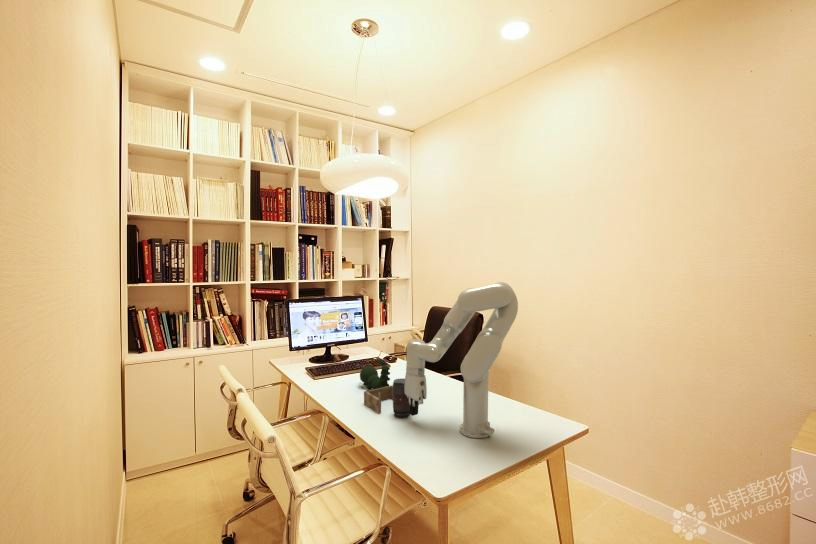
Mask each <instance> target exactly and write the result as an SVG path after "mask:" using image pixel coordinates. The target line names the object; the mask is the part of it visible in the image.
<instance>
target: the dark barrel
mask: <svg viewBox="0 0 816 544" xmlns="http://www.w3.org/2000/svg"><path fill="white" fill-rule="evenodd" d="M404 383H405V378H395V379H394V380H393V383H392V386H393V399H392V409H393V410H392V412H393V414H394V415H393V416H394V417H395V418H398V419H406V418H408V417H410V416H411V415H410V404H409V399H408V398H407V397H406V394H405V393H404Z"/></svg>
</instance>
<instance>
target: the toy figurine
mask: <svg viewBox="0 0 816 544" xmlns="http://www.w3.org/2000/svg"><path fill="white" fill-rule="evenodd" d="M377 363H379V364H380V365H381V370H380V376H379V373H378V370H377V369H376V367H374V366H372V365H366V366H361V369H360V372H359V378H360V381H361V382H362V383H363V385H364V386H365V387H366V389H367V390H368V391H369V390H373V389H378V388H382V387H387V386H390V384H389V381H390V380H391V378H390V377H389V376H390V375H391V372H390V371H389V370H390V369H391V368H390V367H389V366H388V365H387V364H386V361H385V359H384V358H379V359H378V360H377Z"/></svg>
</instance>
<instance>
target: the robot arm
mask: <svg viewBox="0 0 816 544" xmlns="http://www.w3.org/2000/svg"><path fill="white" fill-rule="evenodd" d="M457 297H458V298H457V300H456V301H455V303H454V304H453V306H451V308H450V310H449V311H448V312H447V314H446V315H445V317H444V319H443V323H442V325H441V327H440V329H438V331H437V333H436V334H435V335H434V337H433V339H432V340H431V341H429V342H428V343H427V342H425V340H422V339H418V338H415V339H410V340H408V341H407V342H406V343H407V344H406V369H405V371H406V372H405V377H404V379H405V383H404V393H405V394H406V397H407V398H408V399H409V404H410V416H412V417H413V416H417V415H419V406H420V405H423V404H424V400H427V393H428V390H427V388H428V387H427V377H426V375H425V370H426V369H425V368H426V367H425V366H426V362H429V363H436V362H438V361H440V360H441V358H442V357H443V356H444V355H445V354H446V352H447V351H448V349H449V348H450V347H451V346H452V344H453V342H454V341H455V340H456V338H457V337H458V336H459V335H460V334H461V333H462V332H463V330H464V329H465V328H466V326H467V325H468V324H469V322H470V321H471V319H472V318H473V316H474V315H475V314H476V312H477V313H478V312H483V311H488V310H493V311H492V313H491V315H490V317H489V319H488V320H487V321H486V323H485V325H484V326H483V328H482V330H480V332H479V333H478V334H477V336H476V338H475V340H474V341H473V343H472V345H471V347H470V349H469V350H468V352H467V353H466V355H465V356H464V358H463V360H462V362H461V364H460V374H461V376H462V378H463V396H462V397H463V398H462V399H463V408H462V409H463V411H462V412H463V414H462V415H463V417H462V418H463V419H462V420H463V421H462V423H461V424H460V425H459V433H461V435H463V436H465V437H468V438H471V439H485V438H488V437H492V436H493V435H494V433H495V428H493V427H491V421H489V375H490V374H489V373H490V369H491V367H492V366H493V364H494V363H495V361H496V360H497V358H498V357H499V354H500V352H501V350H502V348H503V347H502V346H503V343H504V340H505V338H506V337H507V335H508V334H509V331H510V330H511V327H512V326H513V324H514V322H515V320H516V317H517V315H518V310H519V302H518V297H517V295H516V293H515V291H514V290H513V287H512V286H510V284H508V283H506V282H504V281H503V282H502V281H499V282H496V283H494V284H491V285H487V286H481V287H476V288H473V287H472V288H470V287H469V288H466V289H465V290H463V291H461V292H460V293H459V295H458V296H457Z"/></svg>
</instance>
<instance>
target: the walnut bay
mask: <svg viewBox="0 0 816 544" xmlns="http://www.w3.org/2000/svg"><path fill="white" fill-rule="evenodd" d="M372 389H373V388H372ZM372 389H370V390H369V389H368V390H365V391H363V405H365V406H366V407H367V408H368V409H370V410H371V411H373V412H375V413H376V414H378V415H379V414H382V402H384V401H388V400H393V384H392V385H389V386H387V387H382V388H378V389H373V390H372Z"/></svg>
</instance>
